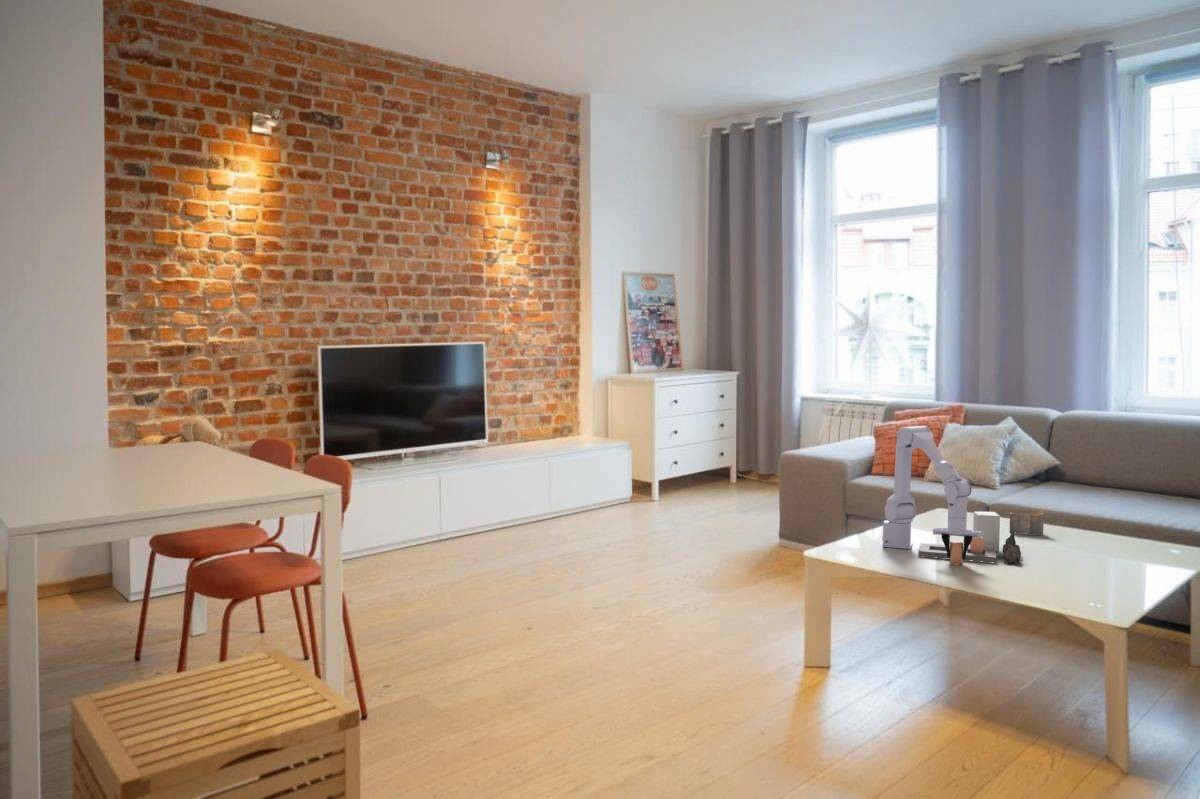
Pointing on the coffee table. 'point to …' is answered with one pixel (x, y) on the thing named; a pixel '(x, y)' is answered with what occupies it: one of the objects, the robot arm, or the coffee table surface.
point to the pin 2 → (976, 545)
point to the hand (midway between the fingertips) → (956, 557)
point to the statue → (1011, 550)
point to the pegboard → (941, 552)
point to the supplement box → (988, 528)
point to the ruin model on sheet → (1027, 523)
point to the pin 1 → (956, 552)
